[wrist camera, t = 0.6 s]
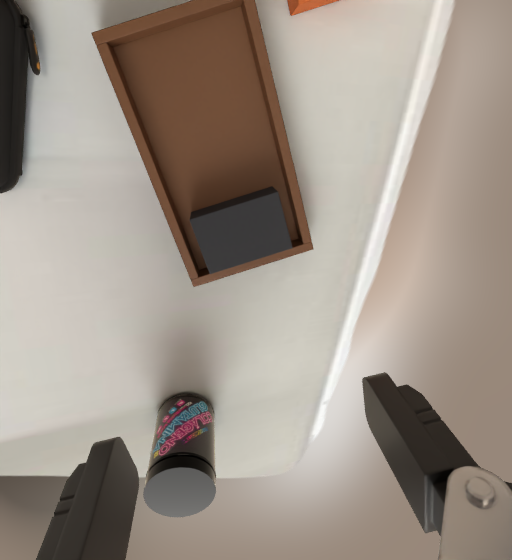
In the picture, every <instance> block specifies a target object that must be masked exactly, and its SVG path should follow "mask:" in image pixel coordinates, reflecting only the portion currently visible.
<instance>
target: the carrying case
mask: <svg viewBox="0 0 512 560" xmlns="http://www.w3.org/2000/svg"><path fill="white" fill-rule="evenodd" d="M28 54H29V60H30V65H31V68H32V71H33V72H34V74H36V75H39V74H40V62H39V57H38V52H37V47H36V42H35V37H34V32H33V31H32V30H30V23H29V19H28V17H27V16H25V15H24V14H22V12H21V10H20V8H19V6H18V5H17V3H16V2H15V1H14V0H0V193H4V192H7V191H9V190H11V189H12V188H13V187H14V186H15V185H16V184H17V182H18V180H19V176H20V175H22V159H23V140H24V122H25V103H26V85H27V66H28Z"/></svg>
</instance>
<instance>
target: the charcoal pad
mask: <svg viewBox="0 0 512 560" xmlns="http://www.w3.org/2000/svg"><path fill="white" fill-rule="evenodd" d="M190 223H191V226H192V228H193V231H194V234H195V236H196V239H197V242H198V244H199V247H200V250H201V252H202V255H203V258H204V260H205V263H206V266H207V268H208V271H209V274H213V273H216V272H219V271H222V270H225V269H228V268H232V267H235V266H238V265H241V264H244V263H247V262H251V261H254V260H257V259H260V258H263V257H266V256H269V255H273V254H276V253H279V252H282V251H285V250H288V249H292V248H293V247H292V243H291V239H290V236H289V232H288V228H287V224H286V220H285V216H284V213H283V209H282V205H281V201H280V197H279V193H278V191H277V190H276V189H275V188H274V187H273V186H271V187H268V188H265V189H262V190H259V191H256V192H252V193H249V194H246V195H243V196H240V197H237V198H234V199H230V200H227V201H224V202H221V203H218V204H215V205H212V206H208V207H205V208H202V209H199V210H196V211H193V212H191V215H190Z"/></svg>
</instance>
